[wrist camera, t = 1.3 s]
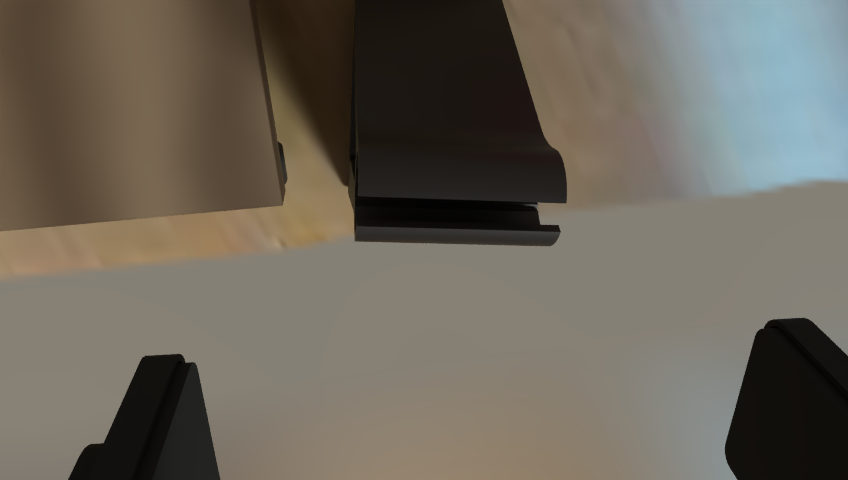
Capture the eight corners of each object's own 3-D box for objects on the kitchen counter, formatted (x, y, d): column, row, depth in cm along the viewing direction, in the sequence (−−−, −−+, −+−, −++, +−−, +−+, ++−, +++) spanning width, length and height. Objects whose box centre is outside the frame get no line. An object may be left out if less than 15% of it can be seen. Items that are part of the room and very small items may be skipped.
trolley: (256, -53, 26) (241, -42, 22) (290, 164, 30) (282, 205, 26) (-123, -29, 25) (-209, -13, 21) (-35, 192, 29) (-92, 239, 26)
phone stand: (355, -16, 27) (364, 46, 17) (500, -4, 28) (596, 62, 18) (346, 189, 31) (349, 343, 21) (473, 195, 32) (538, 345, 22)
